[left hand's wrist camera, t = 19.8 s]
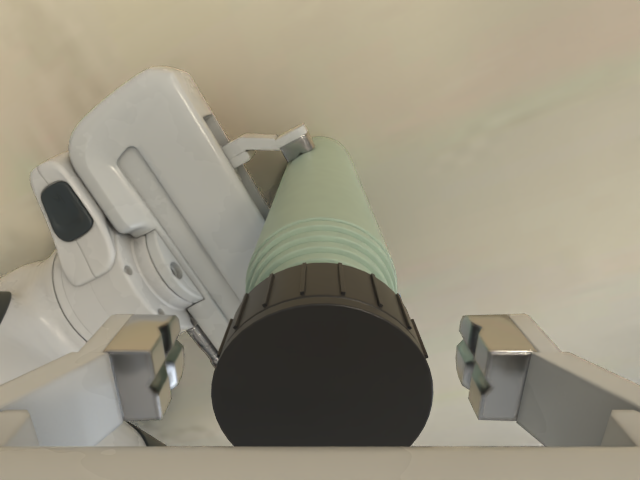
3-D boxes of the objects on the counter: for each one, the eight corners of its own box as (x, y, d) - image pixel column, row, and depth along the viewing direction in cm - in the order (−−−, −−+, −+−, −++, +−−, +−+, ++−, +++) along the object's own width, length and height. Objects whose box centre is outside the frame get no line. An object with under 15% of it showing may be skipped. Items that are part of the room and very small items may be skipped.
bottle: (356, 140, 30) (454, 296, 8) (347, 203, 31) (409, 471, 10) (290, 132, 29) (214, 272, 8) (285, 197, 31) (210, 455, 10)
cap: (220, 405, 11) (200, 469, 9) (239, 243, 9) (220, 282, 7) (389, 428, 11) (403, 495, 9) (437, 276, 9) (464, 321, 8)
